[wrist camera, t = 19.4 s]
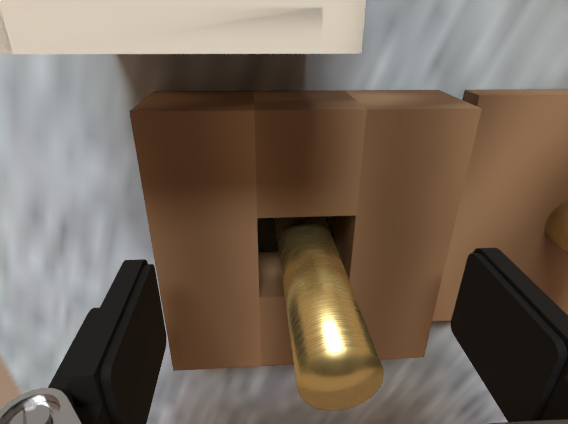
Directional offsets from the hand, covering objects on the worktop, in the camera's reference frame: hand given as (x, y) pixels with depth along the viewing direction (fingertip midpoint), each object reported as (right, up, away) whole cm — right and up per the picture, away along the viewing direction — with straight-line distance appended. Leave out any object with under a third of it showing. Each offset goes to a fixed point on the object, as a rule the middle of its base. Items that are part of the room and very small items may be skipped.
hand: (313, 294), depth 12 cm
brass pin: (0, +2, +4) cm, 5 cm away
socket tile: (0, +2, +4) cm, 5 cm away
